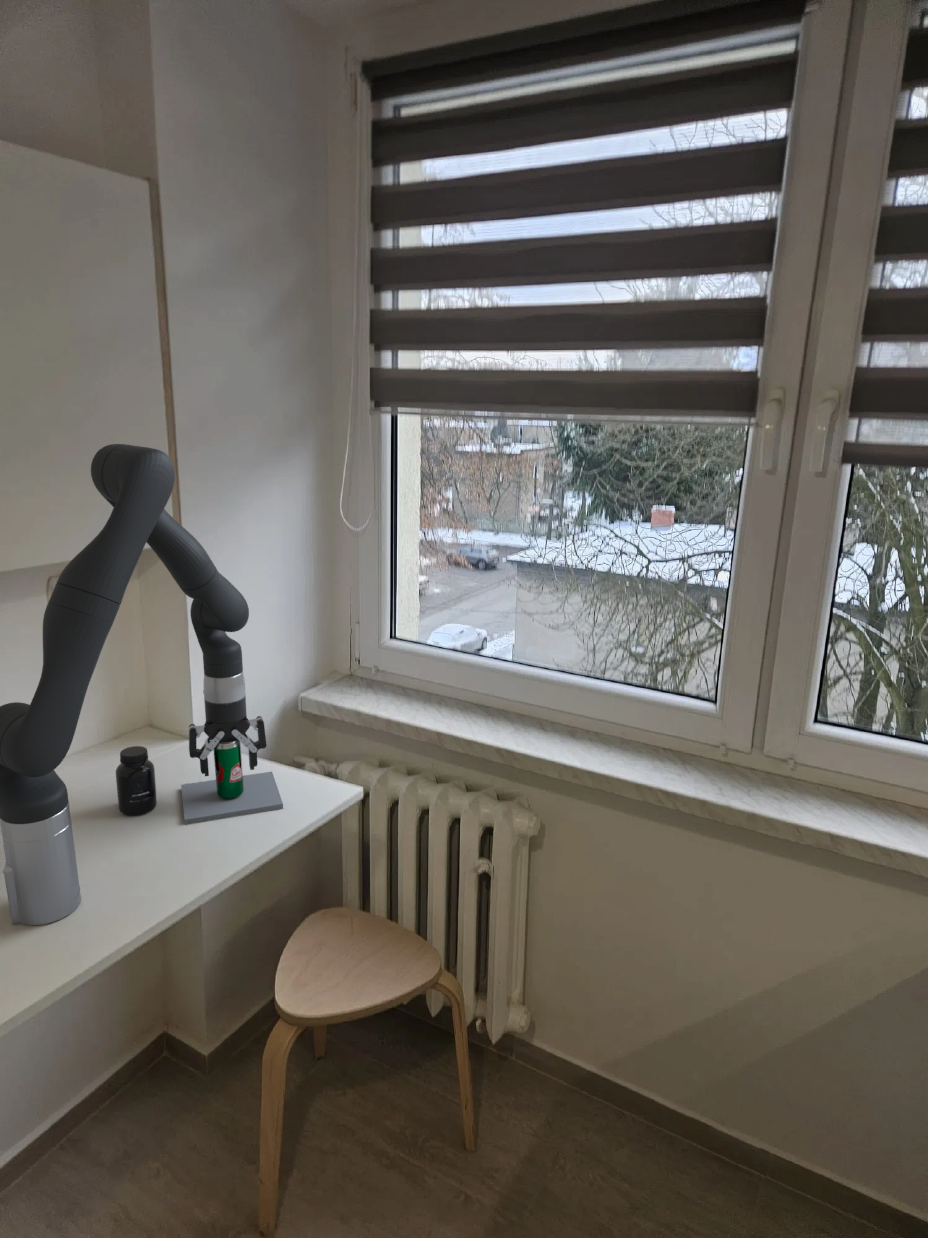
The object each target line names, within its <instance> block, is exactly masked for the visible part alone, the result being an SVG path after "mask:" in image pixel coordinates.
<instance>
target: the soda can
mask: <svg viewBox="0 0 928 1238" xmlns="http://www.w3.org/2000/svg"><path fill="white" fill-rule="evenodd" d="M241 749H242V747H241V742H240V741H239V742H238V741H237V740H233V741H231V742H228V741H223V742H219V743H218V744H217V745H216V747H215V748H214V749H213V751H212V752H213V760H214V772H215V780H216V786H217V795H218V796H219V797H221V798H222V799H234V798H237V797H239V796H240V795H241V794H242V793H243V791H244V786H243V776H244V775H243V772H244V771H243V763H242V750H241Z"/></svg>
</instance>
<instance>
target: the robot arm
mask: <svg viewBox="0 0 928 1238" xmlns="http://www.w3.org/2000/svg"><path fill="white" fill-rule="evenodd" d="M175 472H176V470H175V466H174V463H173V461H172V459H171V457H170V456H169V455H168V454H167V453H165V452H164V451H162V450H160V449H156V448H152V447H146V446H139V445H131V444H127V443H126V444H125V443H114V444H113V443H112V444H107V445H105V446H103V447H101V448H100V449H99V450H97V452H96V453H95V454H94V456H93V458H92V461H91V464H90V477H91V479H92V483H93V486H94V487H95V488H96V490H97V492H98V493H99V494H100V495H101V496H102V497H103V498H104V500H106V501H107V503H109V505H111V507H113V508H112V511H111V513H110V515H109V517H108V518H107V521H106V523H105V524H104V526H103V528H102V529H101V530H100V531H99V533H98V534H97V535H96V536H95V537H94V538H93V539H92V540H91V541H90V542H89V543H88V544H87V545H86V546H85V547H84V548H83V549H82V550H81V551H79V552H78V553H77V554H76V555H75V556H74V557H73V558H72V559H71V560H70V561H69V562H68V564H67V565H65V567H64V569H62V571H61V573H60V575H59V577H58V578H57V580H56V584H55V585H54V588H53V590H52V593H51V595H50V598H49V600H48V603H47V605H46V607H45V609H44V614H43V620H42V670H41V675H40V678H39V681H38V685H37V687H36V690H35V692H34V695H33V696H32V697H33V698H32V699H31V702H30V704H29V703H26V702H21V701H20V702H18V701H17V702H15V701H14V702H9V703H5V704H2V705H0V830H1V836H2V837H1V839H2V843H3V844H2V845H3V850H4V858H5V863H4V866H3V874H4V875H3V876H4V881H5V882H4V883H5V889H6V893H7V901H8V908H9V915H10V919H11V924H12V925H16V924H17V925H18V924H23V925H28V926H40V925H42V926H43V925H46V924H47V925H48V924H51V923H54V922H57V921H60V920H61V919H64V918H66V917H67V916H69V915H71V913H73V912H74V911H75V910H76V909H77V908H78V906H79V905H80V904H81V900H82V897H81V885H80V880H79V871H78V863H77V856H76V849H75V840H74V839H75V838H74V831H73V827H72V826H73V824H72V817H71V809H70V801H69V794H68V789H67V786H66V784H65V782H64V781H63V780H62V778H61V777H60V776H59V775H58V773H56V771H55V770H56V768H58V766H60V764H61V763H62V762H63V761H64V759H65V758H66V756H67V754H68V752H69V751H70V748H71V745H72V743H73V740H74V737H75V734H76V731H77V730H76V729H77V726H78V722H79V719H80V715H81V711H82V708H83V705H84V701H85V698H86V694H87V691H88V687H89V685H90V682H91V679H92V678H93V674H94V672H95V669H96V667H97V664H98V661H99V658H100V656H101V653H102V651H103V648H104V645H105V643H106V639H107V637H108V635H109V633H110V632H111V629H112V627H113V624H114V621H115V620H116V617H117V615H118V612H119V610H120V608H121V605H122V602H123V599H124V597H125V596H124V595H125V593H126V590H127V587H128V585H129V583H130V580H131V577H132V575H133V573H134V571H135V568H136V567H137V564H138V562H139V559H140V557H141V555H142V552H143V550H144V548H145V545H146V544H147V545H148V546H149V547H150V548H151V550H152V551H153V552H154V553H155V554H156V556H157V557H158V558H159V560H160V561H161V563H163V565H164V566H165V568H166V569H167V570H168V572H169V574H170V575H171V577H172V578H173V580H174V581H175V582H176V584H177V585H178V587H179V588H180V590H181V591H182V592H183V593H184V594H185V595H186V596H187V597H189V598H191V599H192V602H191V606H190V612H189V613H190V619H191V624H192V627H193V630H194V633H195V636H196V639H197V641H198V642H197V643H198V645H199V647H200V649H201V653H202V662H203V691H202V693H203V696H204V697H203V698H204V699H203V701H204V714H205V722H204V725H195V723H190V724H189V725H188V753H189V757H190V758H192V759H194V758H196V759H199V765H200V766H199V768H200V773H201V774H202V775H204V776H205V777H209V776H210V775H209V774H210V773H209V759H208V758H209V757H208V756H209V755H210V753H212V752H214V751H213V749H214V748H215V747H216V745H217V744H218V743H219V742H223V741H228V742H231V741H233V740H237V741H238V742H239V741H240V744H242V745H243V746H244V747H245V748H247V749H248V762H249V763H248V765H249V770H251V771H254V770H255V767H257V766H258V751H259V750H261V749H266V748H267V739H266V738H267V737H266V731H265V730H266V729H265V722H264V719H263V716H261V715H258V716H257V717H256V718H253V719H252V718H251V719H249V718H248V715H247V700H246V699H247V698H246V695H247V694H246V683H245V681H246V680H245V676H244V667H243V652H242V646H241V644H240V643H239V642H238V641H236V640H235V639H233V638H232V637H230V636H229V635H228V634H227V633H235V632H239V631H240V630H242V629H243V628H244V627H245V626H246V625H247V623H248V621H249V617H250V611H249V610H250V609H249V606H248V602H247V601H246V598H245V597H244V596H243V594H242V593H241V591H239V589H238V588H236V587H235V586H234V585H233V584H232V583H231V582H230V581H229V580H228V579H227V578H226V577H225V576H224V575H223V574H221V573H220V572H219V570H218V569H217V567H216V566H215V563H214V562H213V560H212V559H211V557H210V555H209V554H208V553H207V551H206V549H205V548H204V547H203V546H202V544H201V543H200V542H199V541H198V540H197V538H196V537H194V535H193V534H192V533H190V532H189V531H188V530H187V529H186V528H185V527H184V526H183V525H181V523H179V522H178V521H177V520H176V519H175V518H174V517H173V516H172V515H171V514H169V513H168V511H167V510H166V509H165V508H166V506H167V504H168V502H169V499H170V498H171V495H172V493H173V489H174V486H175V482H176V481H175V480H176V473H175ZM250 727H252V728H253V730H254V731H257V738H258V740H257V741H253V739H252V738H251V737H250V736H249V735H248V734H247V732H248V731H249V729H250ZM202 733H205V735H206V736H207V738H206V739H205V740H204V743H203V745H202V746H201V748H197V739H198V738H200V737H201V735H202Z"/></svg>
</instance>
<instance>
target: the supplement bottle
mask: <svg viewBox="0 0 928 1238" xmlns="http://www.w3.org/2000/svg"><path fill="white" fill-rule="evenodd" d="M119 762H120V763H119V764H118V766H117V767H116V769H115V780H116V781H115V782H116V793H117V805H118V811H119V812H120V813H121V814H122V815H125V816H128V817H138V816H139V817H140V816H143V815H147V814H149V813H151V812H152V811H153V810H154V809H155V808H156V807H157V803H158V800H157V788H156V785H157V784H156V773H155V770H156V769H155V765H154V763H153V762H152V761H151V760H149V753H148V749H147V747H145V746H142V745H141V746H139V745H136V746H135V745H134V746H130V747H129V746H128V747H126V748H124V749H122V750H121V751H120V752H119Z"/></svg>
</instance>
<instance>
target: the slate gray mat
mask: <svg viewBox="0 0 928 1238" xmlns="http://www.w3.org/2000/svg"><path fill="white" fill-rule="evenodd" d="M243 786H244V791H243V793H242V794H241V795H240V796H239V797H237V798H234V799H222V798H221V797H219V796H218V795H217V786H216V779H212V780H211V779H210V780H205V781H197V782H191V783H183V784H181V785H180V788H181V798H182V799H181V800H182V807H183V818H184V825H188V824H189V825H192V824H198V823H203V822H207V821H208V822H209V821H215V820H221V819H226V818H233V817H238V816H245V815H252V814H255V813H256V814H257V813H265V812H269V811H276V810H281V809H282V810H283V809H284V803H283V800H282V798H281V794H280V791H279V788H278V785H277V781H276V779H275V776H274V773H273V771H267V772H265V771H264V772H260V773H259V772H258V773H253V774H245V775H243Z"/></svg>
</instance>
